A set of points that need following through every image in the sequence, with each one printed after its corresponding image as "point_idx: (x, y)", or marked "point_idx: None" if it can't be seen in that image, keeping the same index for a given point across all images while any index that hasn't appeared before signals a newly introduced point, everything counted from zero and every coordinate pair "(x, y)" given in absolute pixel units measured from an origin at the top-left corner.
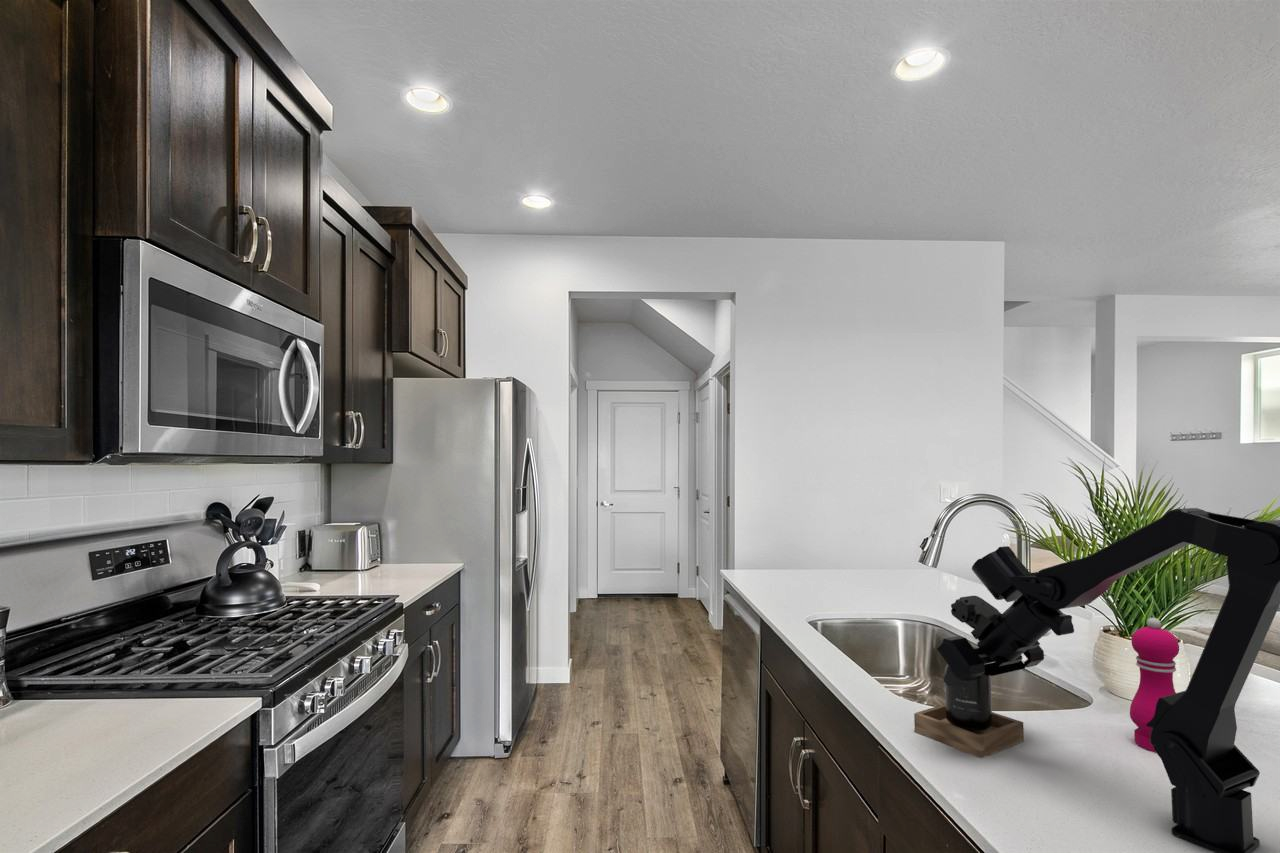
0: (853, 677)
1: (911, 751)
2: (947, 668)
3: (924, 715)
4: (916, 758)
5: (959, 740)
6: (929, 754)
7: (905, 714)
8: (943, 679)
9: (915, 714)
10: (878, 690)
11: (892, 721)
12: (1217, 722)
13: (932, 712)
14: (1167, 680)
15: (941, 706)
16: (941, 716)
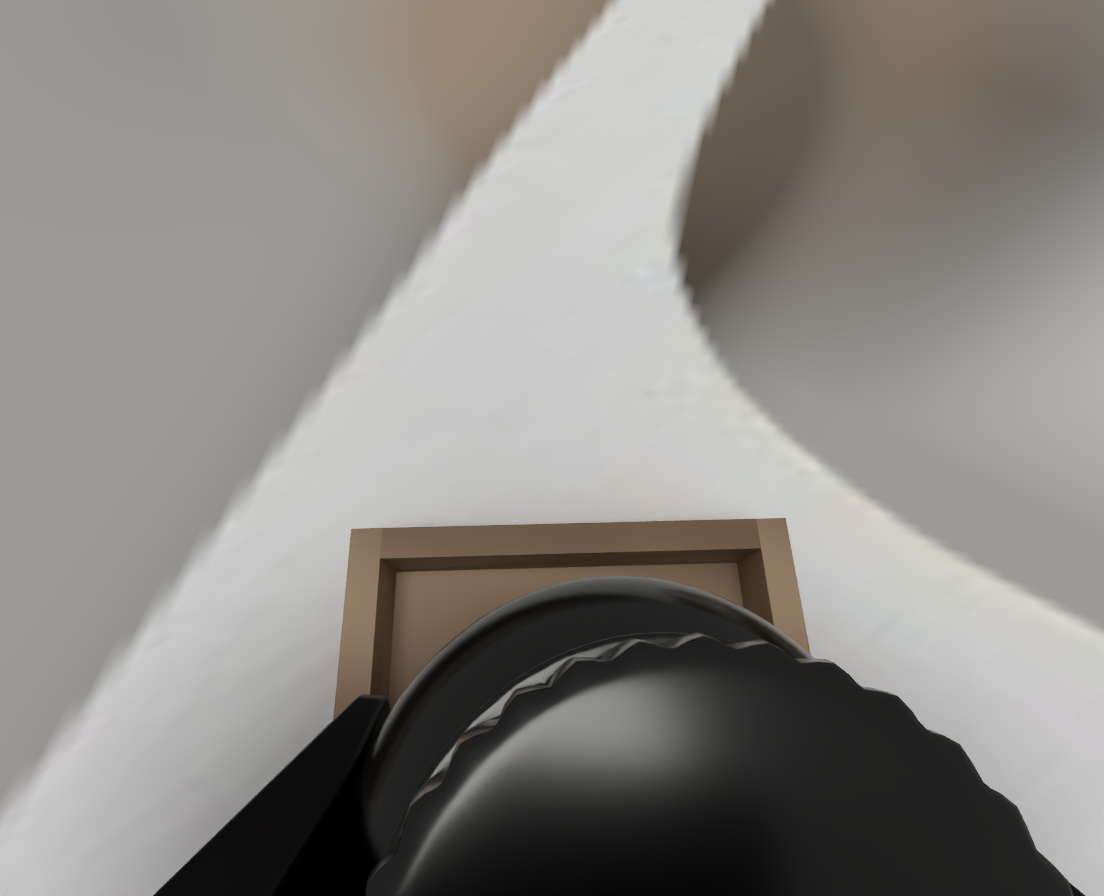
0: (707, 28)
1: (116, 719)
2: (401, 709)
3: (369, 586)
4: (41, 803)
5: None
6: (152, 805)
7: (544, 384)
8: (356, 698)
9: (352, 538)
10: (683, 154)
11: (409, 409)
12: None
13: (493, 557)
14: None
15: (603, 540)
16: (580, 563)
